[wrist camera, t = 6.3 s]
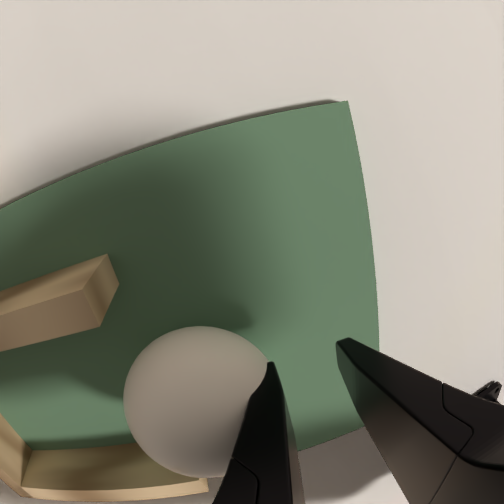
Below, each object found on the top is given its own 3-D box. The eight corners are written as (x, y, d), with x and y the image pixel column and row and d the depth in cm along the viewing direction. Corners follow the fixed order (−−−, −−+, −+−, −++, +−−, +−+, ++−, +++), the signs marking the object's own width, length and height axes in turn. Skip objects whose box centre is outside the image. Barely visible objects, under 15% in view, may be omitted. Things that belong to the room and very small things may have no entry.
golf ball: (295, 301, 8) (187, 425, 5) (315, 417, 10) (248, 526, 6) (172, 294, 11) (67, 367, 7) (209, 393, 12) (135, 469, 8)
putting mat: (342, 102, 9) (347, 100, 9) (375, 414, 14) (378, 419, 14) (-89, 263, 8) (-94, 266, 7) (59, 481, 12) (57, 486, 12)
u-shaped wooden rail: (107, 253, 9) (81, 289, 7) (203, 444, 12) (208, 491, 10) (-72, 319, 8) (-101, 349, 6) (31, 461, 11) (20, 496, 9)
